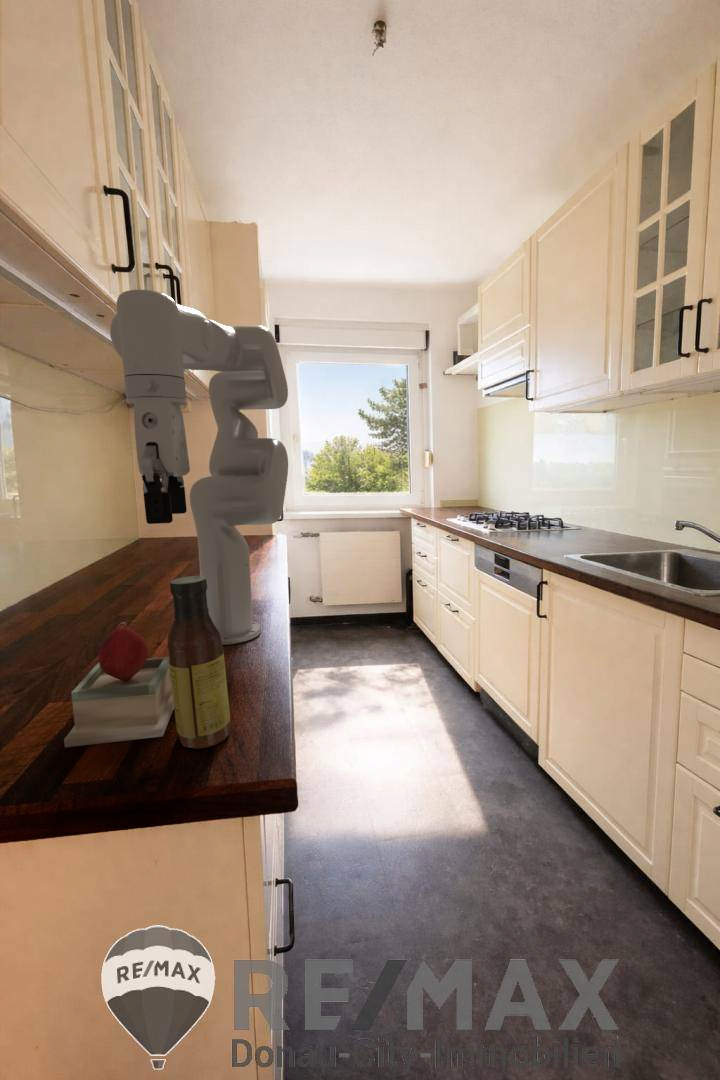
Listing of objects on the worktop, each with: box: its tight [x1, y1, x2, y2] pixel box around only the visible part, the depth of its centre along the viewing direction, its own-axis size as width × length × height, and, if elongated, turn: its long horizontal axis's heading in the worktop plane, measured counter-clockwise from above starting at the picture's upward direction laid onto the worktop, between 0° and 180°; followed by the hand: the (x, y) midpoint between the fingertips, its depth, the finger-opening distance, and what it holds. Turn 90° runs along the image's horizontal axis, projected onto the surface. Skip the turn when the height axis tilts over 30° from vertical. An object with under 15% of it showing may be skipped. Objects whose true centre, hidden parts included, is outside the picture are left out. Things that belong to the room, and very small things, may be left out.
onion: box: [98, 621, 149, 681], centre depth 62 cm, size 6×6×8 cm
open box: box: [63, 656, 175, 748], centre depth 63 cm, size 12×11×6 cm
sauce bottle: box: [166, 575, 231, 750], centre depth 57 cm, size 7×6×20 cm
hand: (168, 517), depth 68 cm, fingers open, 9 cm apart
